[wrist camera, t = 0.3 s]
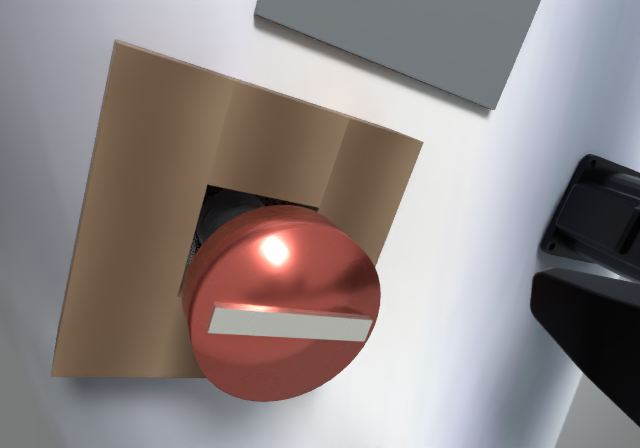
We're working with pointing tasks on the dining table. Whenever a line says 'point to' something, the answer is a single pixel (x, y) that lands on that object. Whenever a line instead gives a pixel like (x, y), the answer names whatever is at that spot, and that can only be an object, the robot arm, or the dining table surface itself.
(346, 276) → the no entry disc
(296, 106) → the eye block
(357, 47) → the mat
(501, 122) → the dining table surface
